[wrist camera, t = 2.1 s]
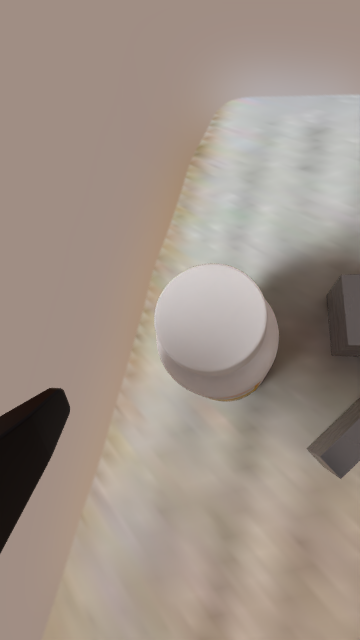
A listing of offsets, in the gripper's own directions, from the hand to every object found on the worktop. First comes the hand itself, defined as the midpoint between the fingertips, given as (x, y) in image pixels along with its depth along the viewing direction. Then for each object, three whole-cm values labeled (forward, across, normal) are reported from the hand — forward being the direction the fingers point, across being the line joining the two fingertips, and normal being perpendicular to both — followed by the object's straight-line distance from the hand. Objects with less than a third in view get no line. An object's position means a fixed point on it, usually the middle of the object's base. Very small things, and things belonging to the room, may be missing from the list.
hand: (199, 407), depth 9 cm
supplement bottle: (+10, 0, +5) cm, 11 cm away
